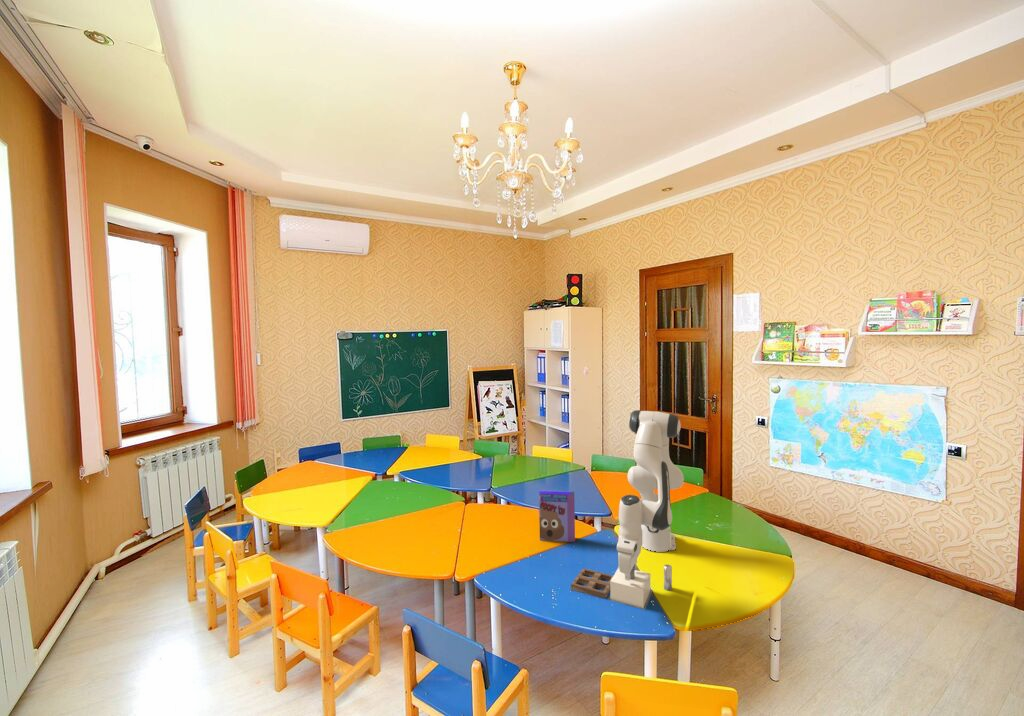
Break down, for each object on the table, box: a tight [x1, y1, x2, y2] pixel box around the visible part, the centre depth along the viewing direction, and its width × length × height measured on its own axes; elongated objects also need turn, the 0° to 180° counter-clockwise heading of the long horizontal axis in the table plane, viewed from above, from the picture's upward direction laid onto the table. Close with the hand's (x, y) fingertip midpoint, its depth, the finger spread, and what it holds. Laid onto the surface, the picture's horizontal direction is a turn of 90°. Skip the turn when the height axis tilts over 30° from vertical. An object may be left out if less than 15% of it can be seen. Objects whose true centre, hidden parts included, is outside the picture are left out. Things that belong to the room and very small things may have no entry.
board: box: [607, 589, 654, 611], centre depth 172 cm, size 14×14×6 cm
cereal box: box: [538, 490, 576, 543], centre depth 222 cm, size 17×5×24 cm, turn 81°
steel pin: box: [663, 564, 673, 592], centre depth 175 cm, size 3×3×10 cm
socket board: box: [570, 567, 614, 600], centre depth 179 cm, size 14×14×3 cm
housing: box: [609, 566, 651, 608], centre depth 171 cm, size 12×12×11 cm
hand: (630, 573), depth 171 cm, fingers open, 8 cm apart
